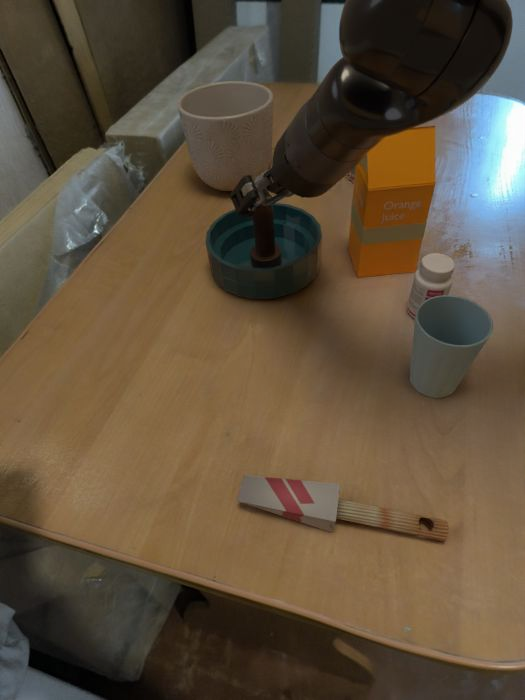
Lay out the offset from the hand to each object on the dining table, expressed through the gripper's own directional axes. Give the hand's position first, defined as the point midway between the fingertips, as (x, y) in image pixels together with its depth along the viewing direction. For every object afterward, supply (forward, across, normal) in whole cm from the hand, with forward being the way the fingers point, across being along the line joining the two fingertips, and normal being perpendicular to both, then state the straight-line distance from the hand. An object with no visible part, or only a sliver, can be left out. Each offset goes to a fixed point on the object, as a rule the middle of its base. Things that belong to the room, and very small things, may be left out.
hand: (273, 200), depth 61 cm
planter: (+31, -7, -13) cm, 34 cm away
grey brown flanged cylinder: (+10, 0, +6) cm, 12 cm away
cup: (-10, -6, +29) cm, 31 cm away
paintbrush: (-16, +13, +34) cm, 40 cm away
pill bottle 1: (+21, -28, -2) cm, 35 cm away
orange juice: (+6, -15, +13) cm, 21 cm away
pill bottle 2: (-3, -13, +22) cm, 26 cm away
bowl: (+11, +1, +7) cm, 13 cm away
